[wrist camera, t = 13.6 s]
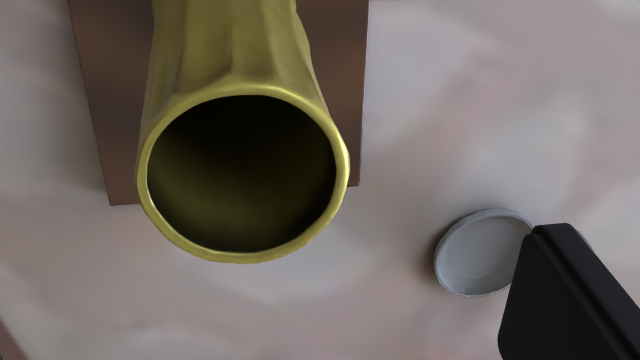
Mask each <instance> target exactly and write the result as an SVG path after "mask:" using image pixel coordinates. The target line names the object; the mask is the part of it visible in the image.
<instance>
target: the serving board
mask: <svg viewBox="0 0 640 360" xmlns="http://www.w3.org/2000/svg"><path fill="white" fill-rule="evenodd" d="M295 2H296V13H297V15H298V16H299V18H300V20H301V22H302V26H303V28H304V30H305V33H306V36H307V39H308V42H309V48H310V56H311V62H312V66H313V70H314V73H315V77H316V80H317V82H318V85H319V88H320V91H321V93H322V96H323V98H324V101H325V103H326V106H327V108H328V111H329V114H330V117H331V118H332V120H333V121H334V123H335V125H336V127H337V129H338V131H339V133H340V135H341V137H342V139H343V141H344V143H345V145H346V147H347V150H348V152H349V158H350V173H349V178H348V182H347V187H352V186H359V182H360V165H361V148H362V131H363V114H364V97H365V80H366V63H367V46H368V28H369V11H370V0H295ZM67 3H68V7H69V12H70V17H71V22H72V26H73V31H74V36H75V41H76V45H77V50H78V55H79V60H80V65H81V69H82V74H83V79H84V84H85V88H86V93H87V98H88V103H89V108H90V112H91V117H92V122H93V127H94V131H95V136H96V141H97V146H98V151H99V155H100V160H101V165H102V170H103V174H104V179H105V184H106V189H107V194H108V198H109V203H110V206H116V205H128V204H141V203H140V200H139V197H138V194H137V190H136V186H135V166H136V160H137V153H138V144H139V136H140V126H141V118H142V112H143V106H144V99H145V92H146V85H147V79H148V72H149V63H150V54H151V46H152V41H153V34H154V22H155V21H154V16H153V11H152V0H67Z"/></svg>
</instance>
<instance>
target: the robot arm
mask: <svg viewBox="0 0 640 360" xmlns="http://www.w3.org/2000/svg"><path fill="white" fill-rule="evenodd" d="M498 348H499V351H500V354H501V357H502V359H503V360H640V309H639V307H638V306H637V305H636V304H635V302H634V301H633V300H632V299H631V298H630V296H629V295H628V294H627V293H626V291H625V290H624V289H623V288H622V286H621V285H620V284H619V283H618V282H617V280H616V279H615V278H614V277H613V275H612V274H611V273H610V272H609V270H608V269H607V268H606V267H605V266H604V264H603V263H602V262H601V261H600V259H599V258H598V257H597V256H596V254H595V253H594V252H593V251H592V250H591V248H590V247H589V246H588V245H587V243H586V242H585V241H584V240H583V238H582V237H581V236H580V235H579V234H578V232H577V231H576V230H575V229H574V228H573V227H572V226H571V225H570V224H568V223H559V224H548V225H538V226H535V227H534V228H533V229H532V231H531V234H528V235H525V237H524V238H523V241H522V244H521V248H520V252H519V256H518V260H517V264H516V268H515V271H514V275H513V279H512V283H511V287H510V291H509V295H508V298H507V302H506V306H505V310H504V314H503V318H502V322H501V326H500V329H499V333H498ZM0 360H3V359H2V356H1V354H0Z"/></svg>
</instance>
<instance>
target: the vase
mask: <svg viewBox="0 0 640 360" xmlns="http://www.w3.org/2000/svg"><path fill="white" fill-rule="evenodd" d="M152 11H153V16H154V21H155V22H154V34H153V41H152V46H151V54H150V63H149V72H148V79H147V85H146V92H145V99H144V106H143V112H142V118H141V126H140V136H139V144H138V153H137V160H136V166H135V186H136V190H137V194H138V197H139V200H140V203H141V206H142V207H143V209H144V211H145V213H146V215H147V216H148V217H149V219H150V220H151V221H152V222H153V223H154V225H155V226H156V227H157V228H158V229H159V231H160V232H161V233H162V234H163V235H164V236H165V237H166V238H167V239H168V240H169V241H171V242H172V243H173V244H175V245H176V246H178V247H180V248H181V249H183V250H185V251H187V252H188V253H190V254H192V255H194V256H197V257H199V258H202V259H205V260H209V261H214V262H222V263H237V264H252V263H261V262H266V261H270V260H273V259H277V258H280V257H282V256H285V255H287V254H290V253H292V252H294V251H296V250H298V249H299V248H301V247H303V246H304V245H306V244H307V243H308V242H310V241H311V240H312V239H313V238H314V237H315V236H316V235H317V234H319V233H320V232H321V231H322V230H323V229H324V228H325V227H326V226H327V225H328V223H329V222H330V221H331V220H332V218H333V217H334V216H335V214H336V213H337V211H338V209H339V208H340V205H341V203H342V200H343V197H344V194H345V190H346V187H347V182H348V178H349V173H350V158H349V152H348V150H347V147H346V145H345V143H344V141H343V139H342V137H341V135H340V133H339V131H338V129H337V127H336V125H335V123H334V121H333V120H332V118H331V117H330V114H329V111H328V108H327V106H326V103H325V101H324V98H323V96H322V93H321V91H320V88H319V85H318V82H317V80H316V77H315V73H314V70H313V66H312V62H311V56H310V48H309V42H308V39H307V36H306V33H305V30H304V28H303V26H302V22H301V20H300V18H299V16H298V15H297V13H296V2H295V0H152Z"/></svg>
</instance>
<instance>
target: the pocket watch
mask: <svg viewBox="0 0 640 360" xmlns="http://www.w3.org/2000/svg"><path fill="white" fill-rule="evenodd" d="M533 228H534V226H533V225H532V223H531V222H530V221H529V220H528V219H527V218H526V217H525V216H523V215H521V214H520V213H518V212H516V211H512V210H508V209H502V208H496V209H488V210H482V211H478V212H476V213H474V214H472V215H469V216H467V217H465V218H463V219H461V220H460V221H459V222H457V223H456V224H455V225H453V226H452V227H451V228H450V229H449V230H448V231H447V232H446V233H445V235H444V236H443V237H442V238H441V240H440V241H439V243H438V245H437V247H436V250H435V253H434V260H433V265H434V271H435V274H436V278H437V279H438V281H439V282H440V284H441V285H442V286H443V287H444V288H445V289H446V290H448V291H449V292H451V293H453V294H456V295H460V296H464V297H481V296H487V295H490V294H493V293H496V292H498V291H501V290H504V289H506V288H507V287H509V286H511V283H512V279H513V275H514V271H515V268H516V264H517V260H518V256H519V252H520V248H521V244H522V241H523V238H524V237H525V235H528V234H531V231H532V229H533ZM575 230H576V229H575ZM576 231H577V230H576ZM577 232H578V234H579V235H580V236H581V237H582V238H583V240H584V241H585V242H586V243H587V245H588V246H589V247H590V248H591V250H592V251H593V249H592V247H591V246H590V244H589V243H588V241H587V240H586V239H585V238H584V236H583V235H582V234H581V233H580V232H579V231H577ZM593 252H594V251H593Z"/></svg>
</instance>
